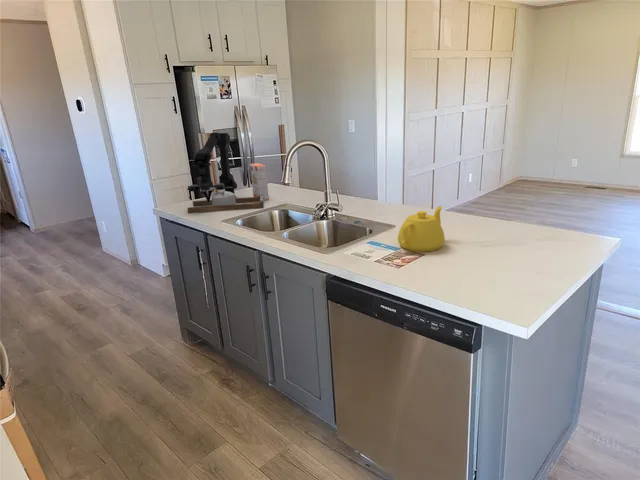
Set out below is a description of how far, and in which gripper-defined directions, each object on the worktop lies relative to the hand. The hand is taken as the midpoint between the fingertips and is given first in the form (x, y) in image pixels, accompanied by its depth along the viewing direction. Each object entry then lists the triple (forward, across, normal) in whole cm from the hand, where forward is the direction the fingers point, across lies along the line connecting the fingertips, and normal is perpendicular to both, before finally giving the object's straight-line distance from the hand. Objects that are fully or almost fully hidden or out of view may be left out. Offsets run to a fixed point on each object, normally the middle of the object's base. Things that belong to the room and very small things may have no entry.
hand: (208, 202), depth 244 cm
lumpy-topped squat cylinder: (+4, +8, 0) cm, 9 cm away
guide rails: (+4, +10, 0) cm, 10 cm away
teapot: (+3, +96, -87) cm, 130 cm away
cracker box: (+4, +28, +17) cm, 33 cm away
